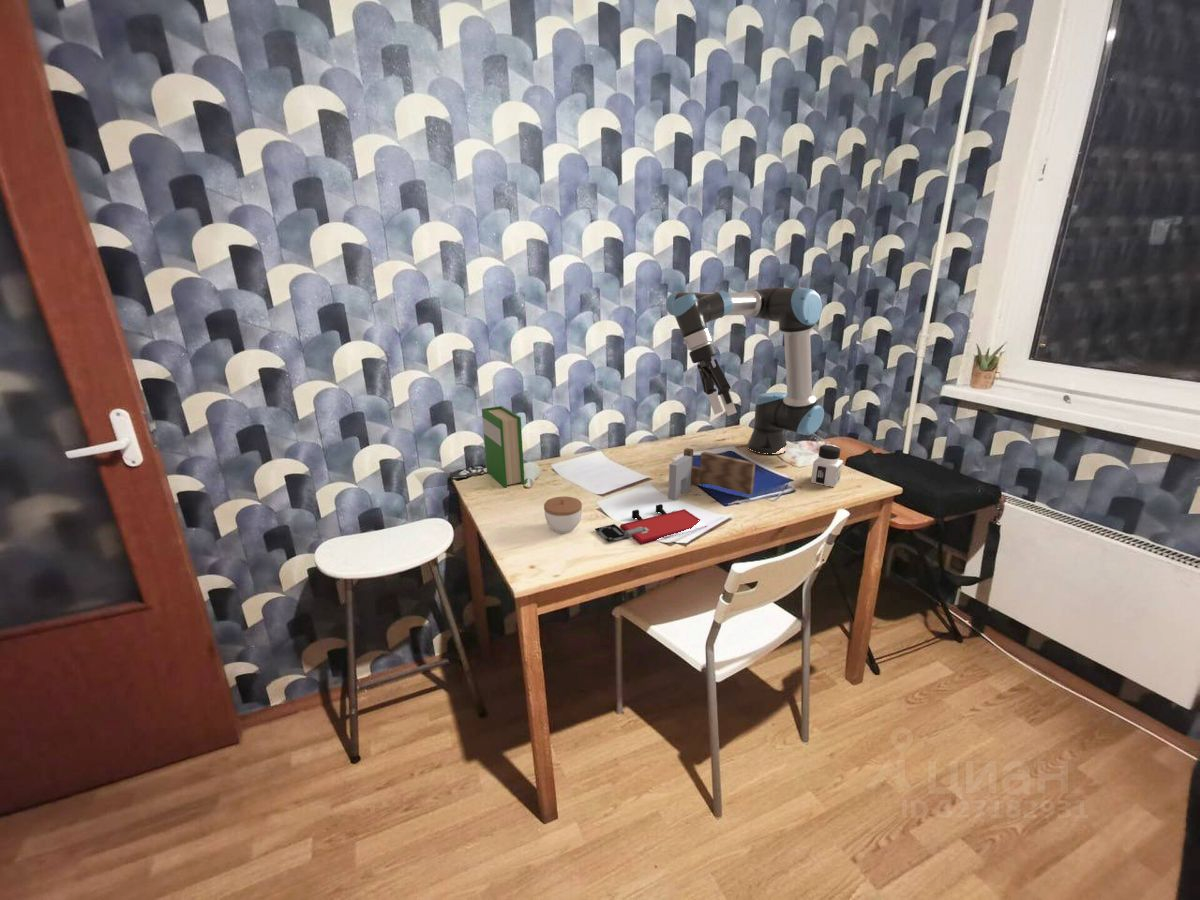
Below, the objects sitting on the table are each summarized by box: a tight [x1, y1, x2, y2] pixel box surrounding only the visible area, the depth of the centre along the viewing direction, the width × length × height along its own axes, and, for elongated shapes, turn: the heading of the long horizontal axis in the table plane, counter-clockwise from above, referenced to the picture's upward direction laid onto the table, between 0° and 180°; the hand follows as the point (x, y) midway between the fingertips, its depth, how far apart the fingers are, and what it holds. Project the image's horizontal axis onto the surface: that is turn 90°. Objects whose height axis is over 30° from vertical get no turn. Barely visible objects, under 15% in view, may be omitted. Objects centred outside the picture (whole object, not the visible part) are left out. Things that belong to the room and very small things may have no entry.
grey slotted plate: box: [667, 455, 692, 502], centre depth 173 cm, size 2×10×12 cm, turn 142°
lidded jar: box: [543, 495, 583, 534], centre depth 152 cm, size 11×11×9 cm
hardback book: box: [481, 405, 526, 489], centre depth 186 cm, size 18×7×24 cm, turn 31°
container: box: [810, 444, 844, 488], centre depth 182 cm, size 8×8×13 cm
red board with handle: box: [594, 503, 701, 546], centre depth 153 cm, size 30×3×15 cm
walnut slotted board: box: [683, 447, 756, 495], centre depth 176 cm, size 24×2×12 cm, turn 52°
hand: (725, 413), depth 160 cm, fingers open, 13 cm apart
